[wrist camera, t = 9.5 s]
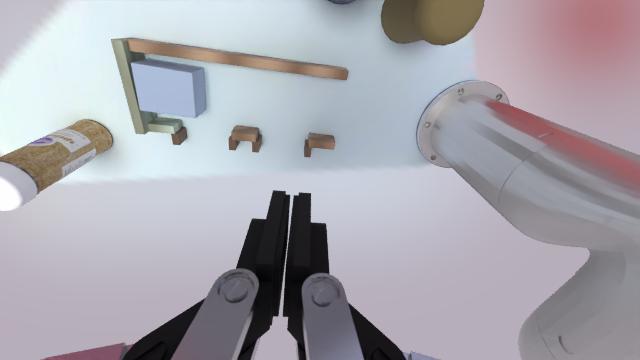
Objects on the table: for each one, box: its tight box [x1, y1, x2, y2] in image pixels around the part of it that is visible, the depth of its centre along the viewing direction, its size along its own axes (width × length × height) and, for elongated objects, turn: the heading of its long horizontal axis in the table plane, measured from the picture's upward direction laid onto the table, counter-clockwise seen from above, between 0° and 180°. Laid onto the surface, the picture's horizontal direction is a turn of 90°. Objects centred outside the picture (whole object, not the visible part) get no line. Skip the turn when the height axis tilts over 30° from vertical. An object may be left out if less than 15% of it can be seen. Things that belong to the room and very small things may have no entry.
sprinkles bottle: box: [0, 120, 112, 211], centre depth 28 cm, size 5×5×13 cm
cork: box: [381, 0, 484, 45], centre depth 24 cm, size 6×6×11 cm
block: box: [131, 58, 206, 118], centre depth 29 cm, size 6×5×4 cm
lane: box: [111, 38, 348, 157], centre depth 31 cm, size 24×12×4 cm, turn 83°
